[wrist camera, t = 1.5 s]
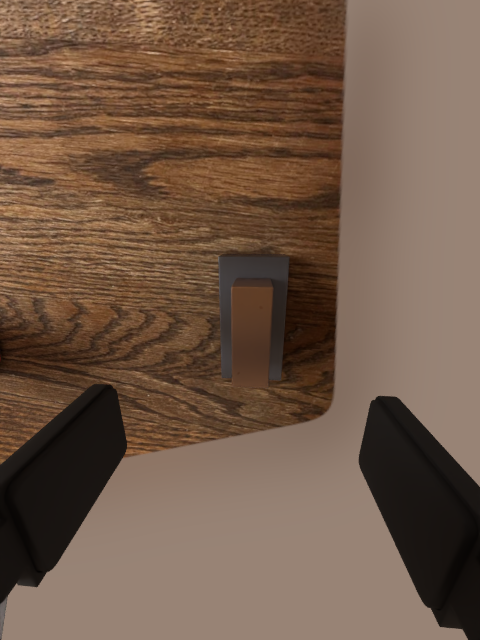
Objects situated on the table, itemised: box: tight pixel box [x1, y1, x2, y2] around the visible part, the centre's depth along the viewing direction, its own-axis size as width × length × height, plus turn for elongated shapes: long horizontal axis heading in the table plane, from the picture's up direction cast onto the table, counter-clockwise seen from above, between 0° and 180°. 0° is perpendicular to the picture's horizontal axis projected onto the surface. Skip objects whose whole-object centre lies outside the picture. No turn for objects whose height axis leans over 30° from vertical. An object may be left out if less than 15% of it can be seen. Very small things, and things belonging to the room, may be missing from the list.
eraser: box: [218, 254, 290, 388], centre depth 17 cm, size 10×5×6 cm, turn 0°
